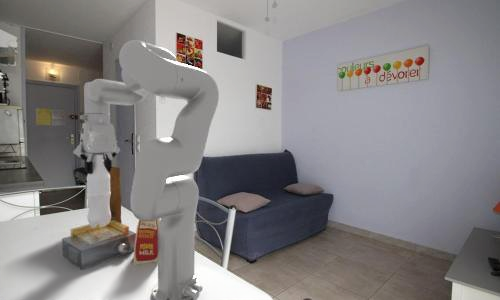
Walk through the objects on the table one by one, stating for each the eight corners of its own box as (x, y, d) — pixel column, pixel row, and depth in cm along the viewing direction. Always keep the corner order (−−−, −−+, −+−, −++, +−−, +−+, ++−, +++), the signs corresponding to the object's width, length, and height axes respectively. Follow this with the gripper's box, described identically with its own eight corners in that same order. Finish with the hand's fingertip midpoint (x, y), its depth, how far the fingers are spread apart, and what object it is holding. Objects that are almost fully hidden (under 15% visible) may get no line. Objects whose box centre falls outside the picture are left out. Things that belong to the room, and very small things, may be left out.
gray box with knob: (140, 251, 94) (140, 228, 94) (84, 273, 79) (84, 246, 79) (115, 238, 105) (114, 217, 104) (61, 255, 90) (60, 231, 89)
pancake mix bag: (114, 236, 107) (113, 168, 105) (86, 227, 116) (84, 164, 114) (129, 230, 113) (128, 166, 111) (101, 222, 122) (99, 162, 120)
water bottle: (103, 229, 89) (102, 155, 87) (82, 228, 89) (80, 155, 87) (115, 221, 96) (114, 153, 94) (95, 221, 96) (94, 153, 94)
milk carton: (133, 264, 85) (132, 203, 84) (137, 251, 94) (137, 196, 93) (163, 261, 88) (162, 202, 86) (164, 249, 97) (164, 195, 95)
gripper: (74, 118, 81) (75, 176, 82) (127, 120, 94) (128, 170, 96) (64, 118, 85) (65, 174, 86) (117, 120, 99) (117, 168, 100)
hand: (98, 171), depth 91 cm, fingers closed on water bottle, 5 cm apart
